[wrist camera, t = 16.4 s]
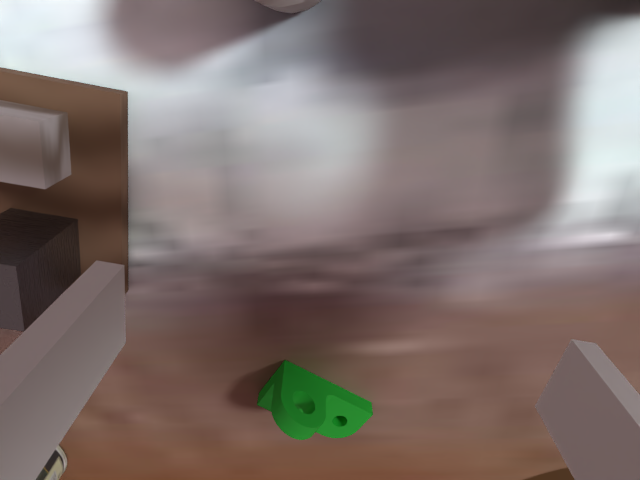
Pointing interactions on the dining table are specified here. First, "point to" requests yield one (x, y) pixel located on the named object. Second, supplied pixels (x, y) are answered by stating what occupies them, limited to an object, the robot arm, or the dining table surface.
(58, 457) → the coffee can
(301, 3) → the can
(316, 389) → the mechanical part
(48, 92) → the board
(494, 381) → the dining table surface
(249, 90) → the dining table surface
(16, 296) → the dark grey block
